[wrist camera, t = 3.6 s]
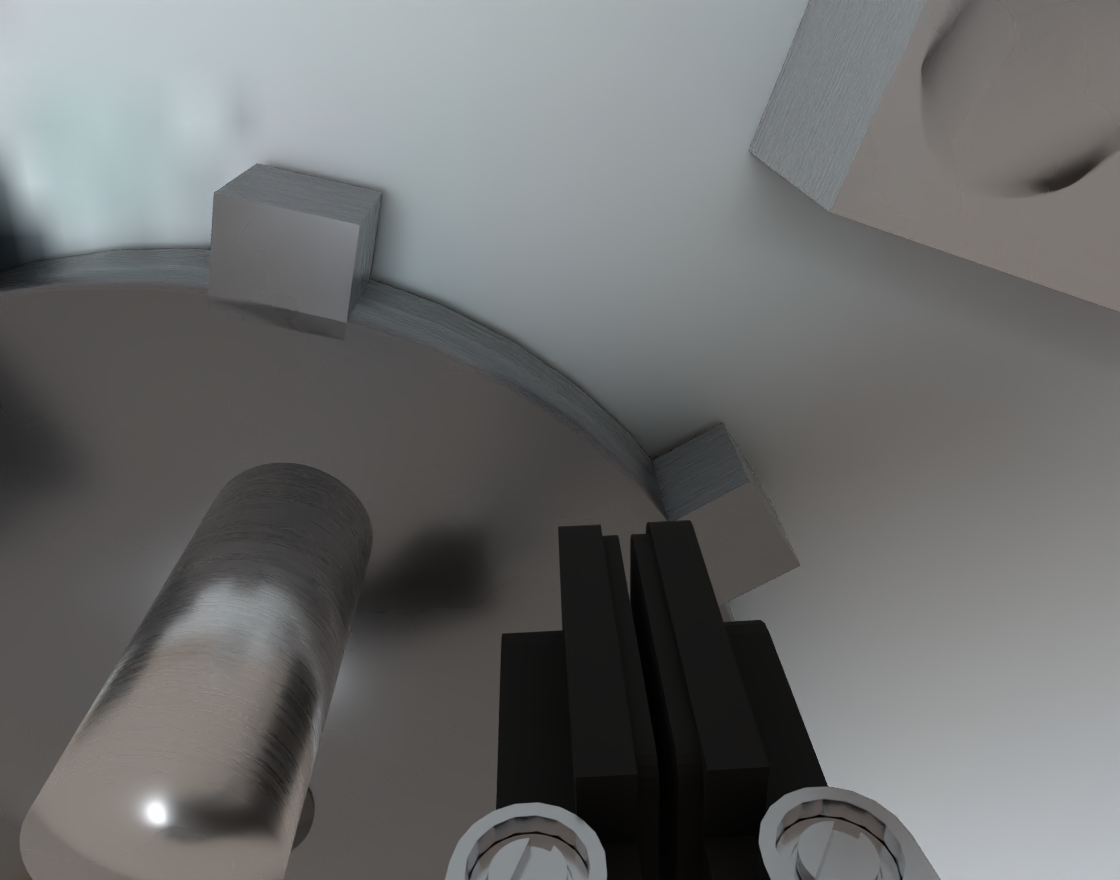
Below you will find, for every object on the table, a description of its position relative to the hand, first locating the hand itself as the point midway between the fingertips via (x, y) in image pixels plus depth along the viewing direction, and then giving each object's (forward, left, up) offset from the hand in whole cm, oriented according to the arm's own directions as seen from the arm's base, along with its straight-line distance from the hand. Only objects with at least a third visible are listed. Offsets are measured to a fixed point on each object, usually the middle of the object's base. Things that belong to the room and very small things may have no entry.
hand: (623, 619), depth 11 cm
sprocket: (+4, +8, -5) cm, 10 cm away
